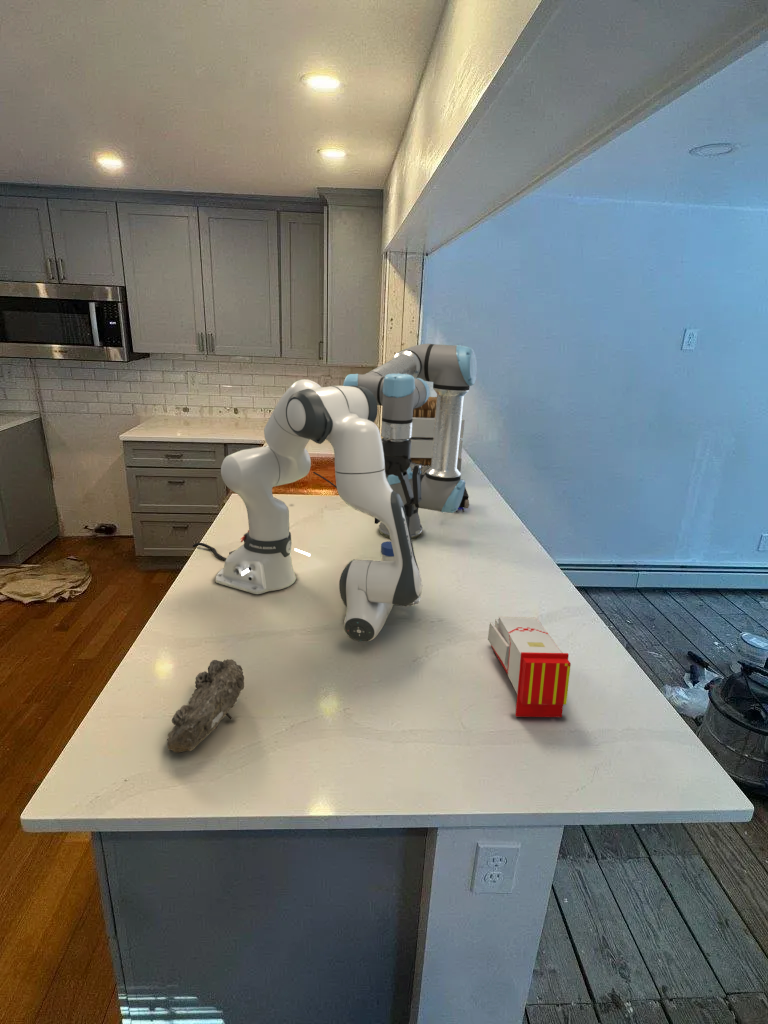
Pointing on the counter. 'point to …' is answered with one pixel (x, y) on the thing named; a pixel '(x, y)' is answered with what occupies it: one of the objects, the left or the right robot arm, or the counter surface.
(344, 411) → the left robot arm
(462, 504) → the figurine character
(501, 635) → the toy
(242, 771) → the counter surface
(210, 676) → the fossil
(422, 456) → the grey storage crate
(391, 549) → the lid
